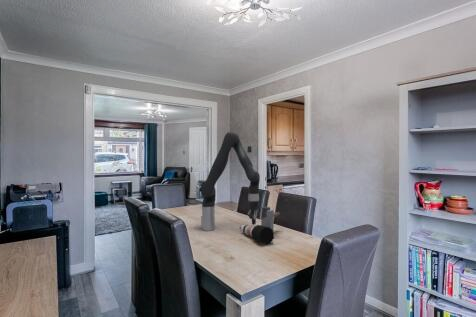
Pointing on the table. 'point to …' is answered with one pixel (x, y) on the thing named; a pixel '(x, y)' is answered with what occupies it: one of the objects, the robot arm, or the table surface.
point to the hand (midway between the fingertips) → (253, 224)
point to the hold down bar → (264, 212)
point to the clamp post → (268, 220)
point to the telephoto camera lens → (258, 233)
